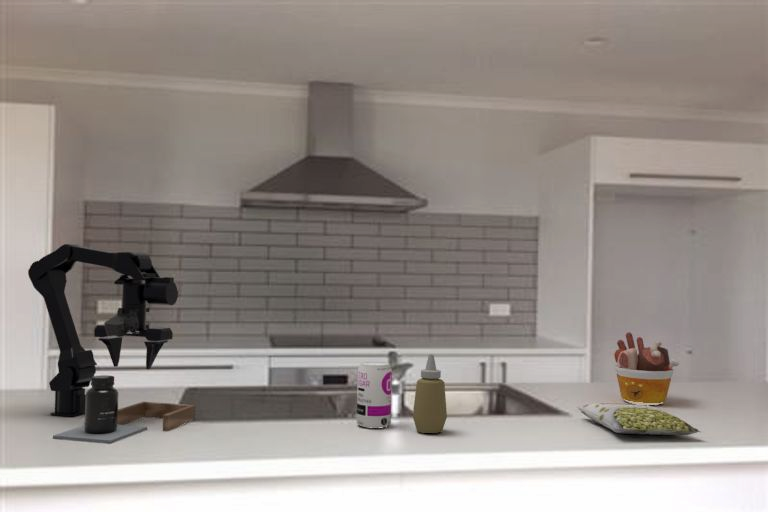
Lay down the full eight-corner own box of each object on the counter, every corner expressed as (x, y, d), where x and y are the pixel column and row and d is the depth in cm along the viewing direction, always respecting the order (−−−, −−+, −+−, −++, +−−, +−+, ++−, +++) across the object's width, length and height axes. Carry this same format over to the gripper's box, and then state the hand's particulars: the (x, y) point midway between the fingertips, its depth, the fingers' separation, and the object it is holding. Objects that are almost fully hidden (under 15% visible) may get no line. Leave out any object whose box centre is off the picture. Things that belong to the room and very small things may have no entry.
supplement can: (395, 424, 179) (397, 362, 179) (381, 431, 172) (383, 366, 172) (366, 420, 183) (367, 360, 183) (350, 427, 175) (352, 364, 175)
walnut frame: (112, 426, 170) (112, 411, 170) (143, 415, 183) (143, 401, 183) (167, 431, 167) (167, 415, 167) (195, 419, 179) (195, 405, 179)
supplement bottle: (106, 435, 159) (107, 379, 159) (77, 433, 160) (79, 378, 160) (123, 428, 165) (124, 375, 166) (96, 426, 167) (97, 373, 167)
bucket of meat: (687, 408, 209) (688, 338, 209) (632, 409, 206) (633, 338, 207) (651, 396, 229) (652, 332, 229) (601, 396, 226) (602, 331, 227)
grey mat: (52, 438, 158) (52, 435, 158) (93, 425, 171) (93, 422, 171) (110, 443, 154) (110, 440, 154) (147, 429, 168) (147, 426, 168)
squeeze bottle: (450, 430, 174) (452, 354, 175) (441, 437, 167) (443, 357, 167) (417, 426, 177) (419, 352, 177) (407, 433, 169) (409, 355, 170)
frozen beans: (615, 415, 166) (575, 395, 191) (613, 441, 166) (573, 418, 191) (702, 419, 168) (651, 399, 193) (701, 444, 168) (650, 421, 193)
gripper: (79, 303, 174) (77, 369, 174) (147, 307, 169) (145, 375, 169) (109, 301, 185) (107, 363, 185) (174, 304, 179) (172, 369, 179)
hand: (131, 367), depth 179 cm, fingers open, 9 cm apart
